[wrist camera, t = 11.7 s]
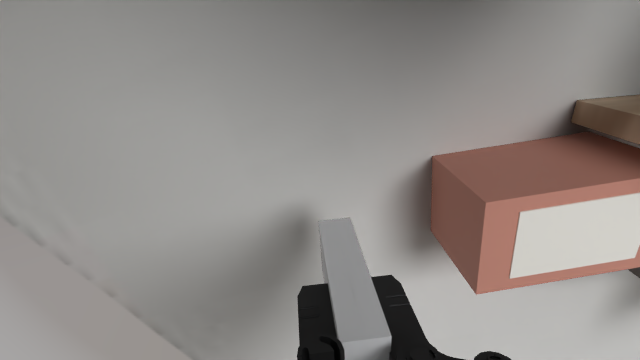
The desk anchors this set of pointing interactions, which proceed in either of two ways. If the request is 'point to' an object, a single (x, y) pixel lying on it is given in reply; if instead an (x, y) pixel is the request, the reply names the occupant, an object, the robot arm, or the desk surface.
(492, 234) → the red box
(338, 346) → the robot arm
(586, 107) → the shelf
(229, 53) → the desk surface
